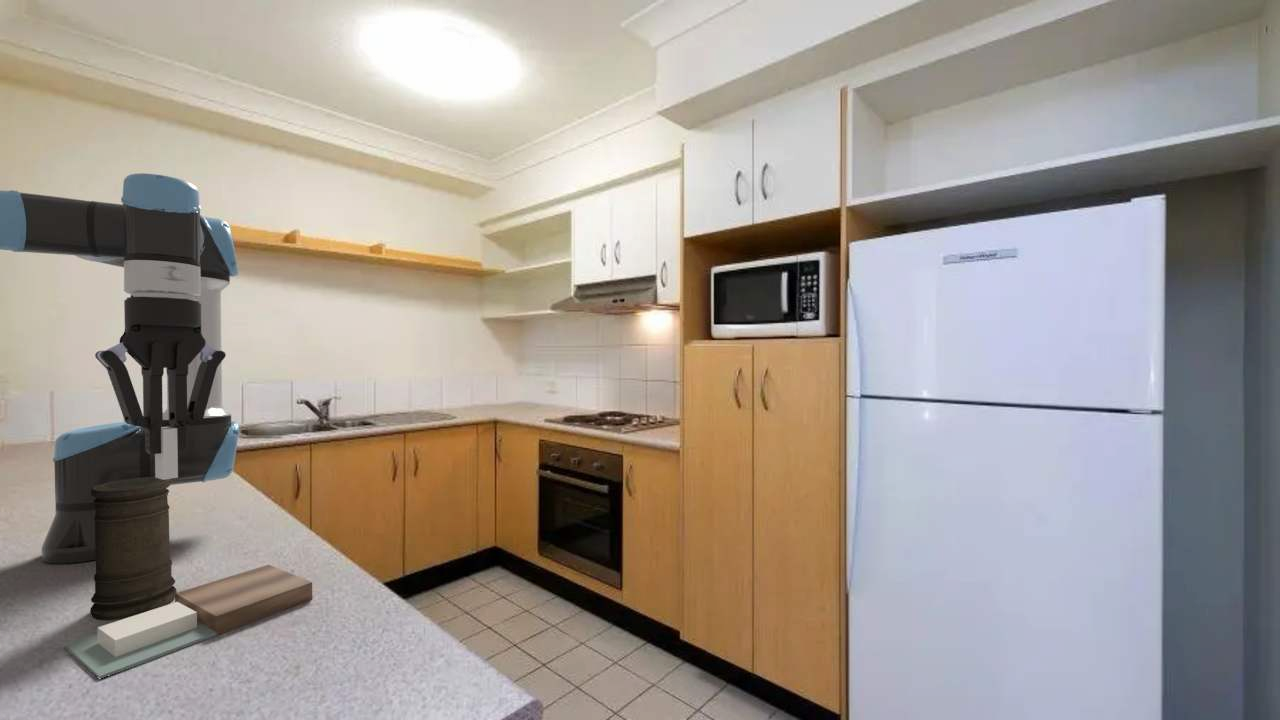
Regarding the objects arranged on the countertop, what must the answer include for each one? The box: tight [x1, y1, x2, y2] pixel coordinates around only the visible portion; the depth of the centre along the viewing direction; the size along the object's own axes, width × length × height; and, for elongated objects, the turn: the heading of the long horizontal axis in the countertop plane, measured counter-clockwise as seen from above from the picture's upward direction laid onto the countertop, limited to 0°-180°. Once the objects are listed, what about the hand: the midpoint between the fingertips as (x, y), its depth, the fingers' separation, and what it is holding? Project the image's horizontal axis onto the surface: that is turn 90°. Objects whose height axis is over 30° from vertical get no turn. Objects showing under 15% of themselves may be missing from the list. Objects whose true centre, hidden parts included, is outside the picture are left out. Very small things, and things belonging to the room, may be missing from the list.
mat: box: [63, 621, 217, 679], centre depth 68 cm, size 13×11×1 cm
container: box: [89, 477, 178, 621], centre depth 78 cm, size 9×9×18 cm
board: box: [174, 564, 313, 636], centre depth 78 cm, size 13×12×2 cm
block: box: [97, 601, 197, 657], centre depth 69 cm, size 6×8×2 cm
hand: (166, 477), depth 70 cm, fingers closed
